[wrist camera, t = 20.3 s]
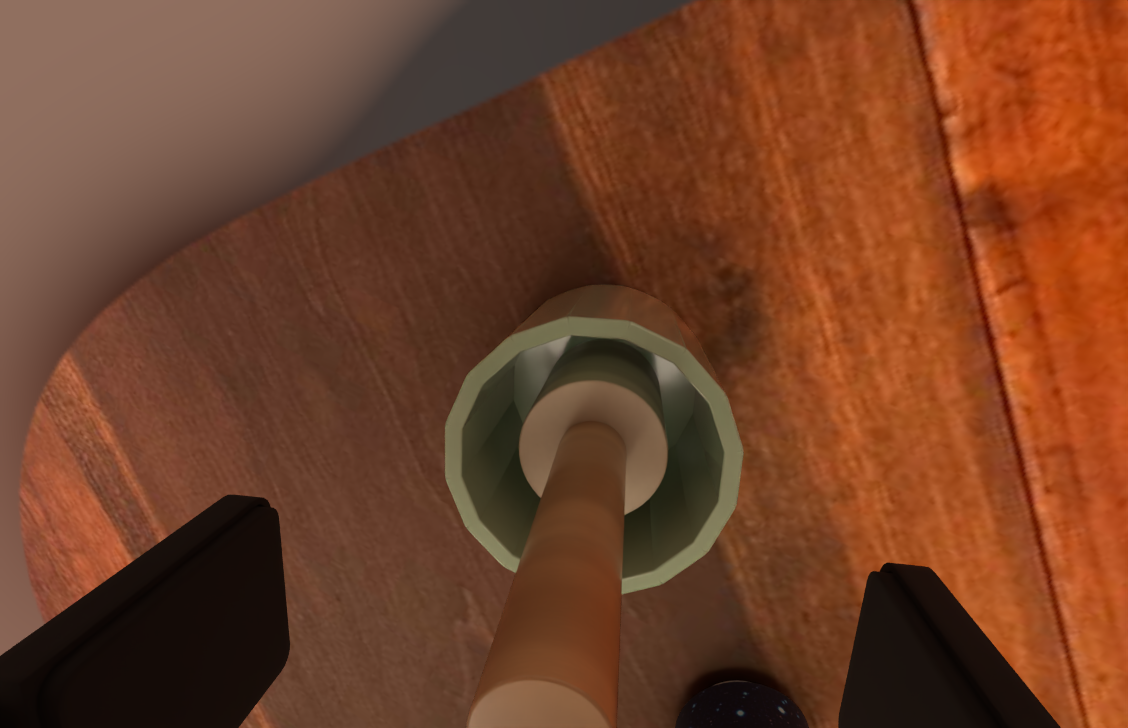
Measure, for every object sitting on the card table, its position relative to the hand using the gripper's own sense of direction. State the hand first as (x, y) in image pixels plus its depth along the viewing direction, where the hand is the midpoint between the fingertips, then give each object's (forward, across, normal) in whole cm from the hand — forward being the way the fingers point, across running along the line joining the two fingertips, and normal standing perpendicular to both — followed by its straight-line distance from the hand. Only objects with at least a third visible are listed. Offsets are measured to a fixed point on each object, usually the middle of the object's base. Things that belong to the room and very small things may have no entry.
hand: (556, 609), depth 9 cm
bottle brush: (+14, 0, +1) cm, 14 cm away
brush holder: (+15, 0, +1) cm, 15 cm away
